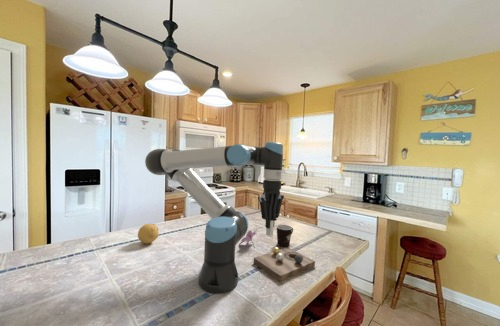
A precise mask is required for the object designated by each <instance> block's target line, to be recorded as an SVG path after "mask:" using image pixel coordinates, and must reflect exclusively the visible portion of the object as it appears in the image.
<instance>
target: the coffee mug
mask: <svg viewBox="0 0 500 326" xmlns="http://www.w3.org/2000/svg"><path fill="white" fill-rule="evenodd" d="M293 232H294V228H293V226H292V225H287V224H277V225H276V240H277V242H276V243H277V246H278V247H280V248H286V247H288V248H290V247H289V246H290V245H291V243H290V242H291V239H292V237H291V236H292V234H293Z"/></svg>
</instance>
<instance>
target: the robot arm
mask: <svg viewBox="0 0 500 326" xmlns="http://www.w3.org/2000/svg"><path fill="white" fill-rule="evenodd" d="M283 158H284V145H283V143H281V142H274V141H273V142H270V141H268V142H265V143H264V146H250V145H245V144H242V143H236V144H233V145H226V146H225V145H224V146H215V147H205V148H204V147H203V148H202V147H201V148H193V149H182V150H181V149H175V148H174V149H170V148H169V149H166V148H157V149H156V148H155V149H153V150H151V151H150V152H148V153H147V155H146V157H145V160H144V164H145V167H146V169H147V170H148V171H149V173H151V174H153V175H157V176H168V178H170V180H172V182H178V184H179V185H180V186H181V187H182V188H183V189H184V190H185V191H186V192H187V193H188V195H189V196H191V198H193V200H194V201H195V202H196V203H197V204H198V205H199V206H200V208H201V209H202V211H204V212H205V213H206V214H207V216H208V217H210V220H209V221H207V223H206V226H205V230H204V251H203V252H204V253H203V255H204V257H203V258H204V259H203V262H202V266H201V269H200V271H199V274H198V283H197V284H198V286H199V288H200V289H201V290H203V291H205V292H207V293H211V294H222V293H227V292H230V291H231V290H233V289H235V288H236V287H237V285H238V283H239V273H238V268H237V265H236V261H235V259H236V258H235V257H236V246H237V244H238V243H240V242H241V240H242V239H243V238H244V237H245V236H246V234H247V233H248V232H247V231H248V229H249V220H248V218H247V216H246V215H245V213H243V212H240V211H237V210H236V209H235V208H234V207H232V205H226V204H225V203H224V202H223V201H222V200H221V199H220V197H219V196H218V195H217V194H216V193H215V192H214V191H213V190H212V189H211V187H209V186H208V185H207V184H206V183H205V181H203V179H202V178H201V177H200V176H199V175H198V174H197V173H196V172H195V171H194V169H203V168H218V167H232V166H234V167H235V166H238V167H239V166H240V167H241V166H246V165H260V166H264V167H263V182H262V189H263V191H262V195H261V196H258V197H257V200H258V201H259V207H260V213H261V214H260V215H261V219H263V220H265V235H266V236H268V237H273V236H274V227H275V221H276V222H277V220H278V218H279V216H280V212H281V209H282V208H281V207H282V205H283V204H282V203H283V200H284V198H285V196H284V195H283V194H281V191H280V190H281V189H282V177H283V175H282V173H283V172H282V171H283V162H284V161H283V160H284V159H283Z"/></svg>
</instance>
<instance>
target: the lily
mask: <svg viewBox="0 0 500 326" xmlns="http://www.w3.org/2000/svg"><path fill="white" fill-rule="evenodd" d="M247 231H248V232H246V234H245V236H244V237H243V238H241V239H240V241H239V244H238V245H239V246H240V245H242V244H243V243H245V242H246V243H249V242H251V243H252V246H253V248H254V249H255V248H256V247H255V245H254V242H253V237H254V236H255V235H257V231H258V229H256V230H254V231H253V232H252V230H250V229H249V230H247Z"/></svg>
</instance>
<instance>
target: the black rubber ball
mask: <svg viewBox="0 0 500 326" xmlns="http://www.w3.org/2000/svg"><path fill="white" fill-rule="evenodd" d="M295 262H296V263H301V262H302V257H301V256H300V255H296V256H295Z"/></svg>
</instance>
